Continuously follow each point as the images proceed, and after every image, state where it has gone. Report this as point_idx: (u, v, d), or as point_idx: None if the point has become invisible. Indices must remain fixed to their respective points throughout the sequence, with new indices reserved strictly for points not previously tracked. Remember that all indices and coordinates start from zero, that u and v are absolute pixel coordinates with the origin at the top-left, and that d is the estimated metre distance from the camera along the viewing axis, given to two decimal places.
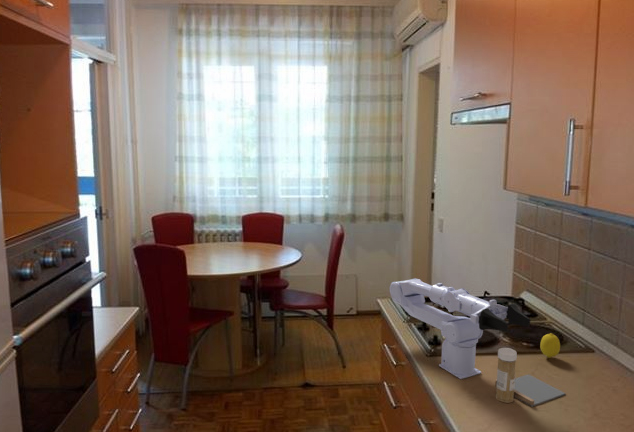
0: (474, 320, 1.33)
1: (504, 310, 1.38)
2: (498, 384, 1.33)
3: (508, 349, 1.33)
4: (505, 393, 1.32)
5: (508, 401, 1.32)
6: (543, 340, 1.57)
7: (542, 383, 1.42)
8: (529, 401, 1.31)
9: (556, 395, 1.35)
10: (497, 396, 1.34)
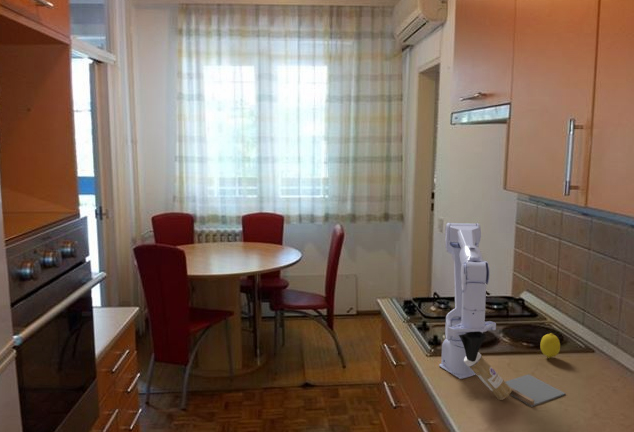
0: (450, 333, 1.29)
1: None
2: None
3: None
4: (494, 392, 1.33)
5: (503, 397, 1.32)
6: (543, 340, 1.57)
7: (542, 383, 1.42)
8: (529, 401, 1.31)
9: (556, 395, 1.35)
10: None
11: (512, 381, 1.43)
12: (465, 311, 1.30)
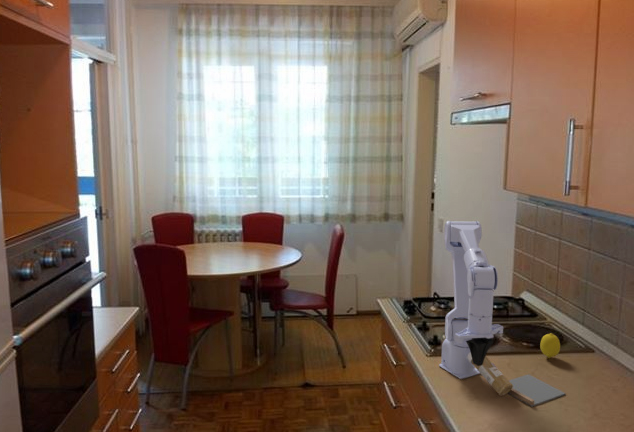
0: (456, 340, 1.27)
1: None
2: (488, 381, 1.37)
3: None
4: (496, 381, 1.35)
5: (504, 386, 1.33)
6: (543, 340, 1.57)
7: (542, 383, 1.42)
8: (529, 401, 1.31)
9: (556, 395, 1.35)
10: None
11: (512, 381, 1.43)
12: (472, 317, 1.28)
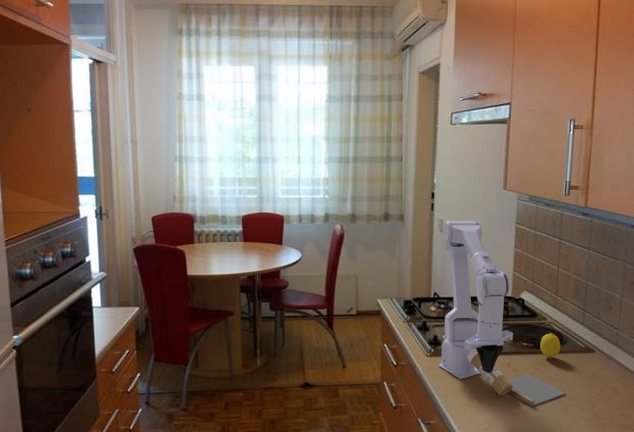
0: (465, 347, 1.26)
1: None
2: (488, 381, 1.37)
3: None
4: (496, 381, 1.35)
5: (504, 386, 1.33)
6: (543, 340, 1.57)
7: (542, 383, 1.42)
8: (529, 401, 1.31)
9: (556, 395, 1.35)
10: None
11: (512, 381, 1.43)
12: (482, 324, 1.26)
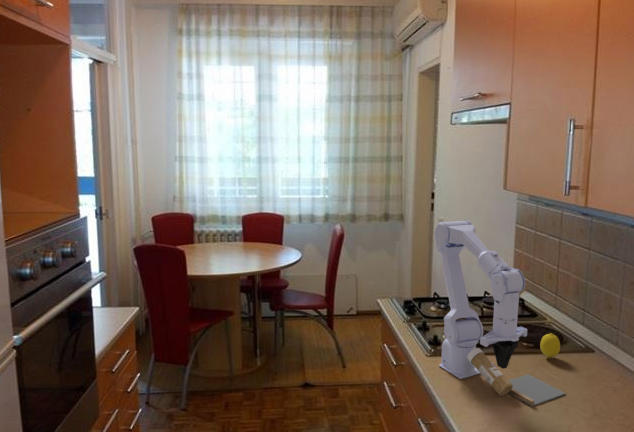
0: (481, 343, 1.28)
1: None
2: (488, 381, 1.37)
3: None
4: (496, 381, 1.35)
5: (504, 386, 1.33)
6: (543, 340, 1.57)
7: (542, 383, 1.42)
8: (529, 401, 1.31)
9: (556, 395, 1.35)
10: None
11: (512, 381, 1.43)
12: (497, 320, 1.28)
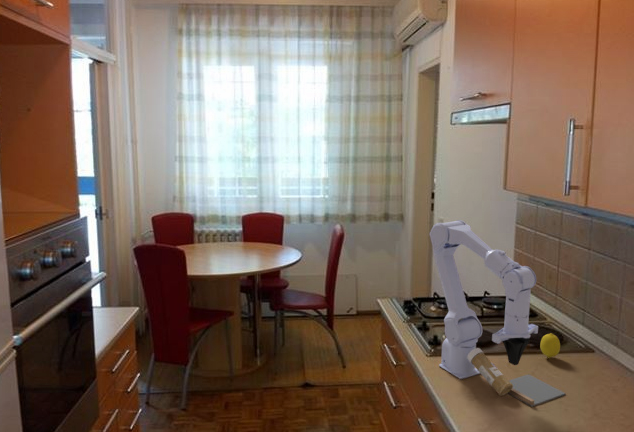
0: (493, 340, 1.30)
1: None
2: (488, 381, 1.37)
3: None
4: (496, 381, 1.35)
5: (504, 386, 1.33)
6: (543, 340, 1.57)
7: (542, 383, 1.42)
8: (529, 401, 1.31)
9: (556, 395, 1.35)
10: None
11: (512, 381, 1.43)
12: (509, 317, 1.30)
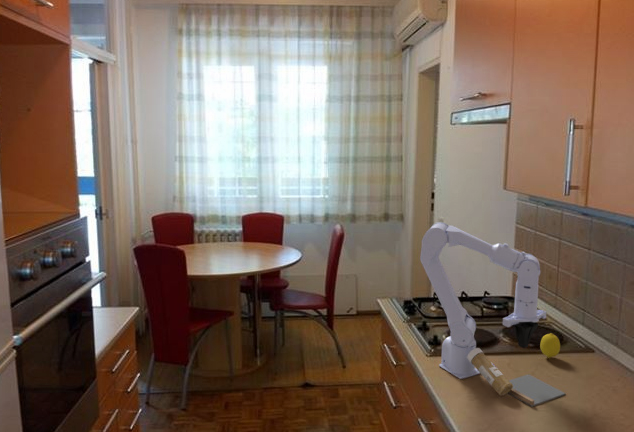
0: (504, 323, 1.38)
1: None
2: (488, 381, 1.37)
3: None
4: (496, 381, 1.35)
5: (504, 386, 1.33)
6: (543, 340, 1.57)
7: (542, 383, 1.42)
8: (529, 401, 1.31)
9: (556, 395, 1.35)
10: None
11: (512, 381, 1.43)
12: (518, 303, 1.39)
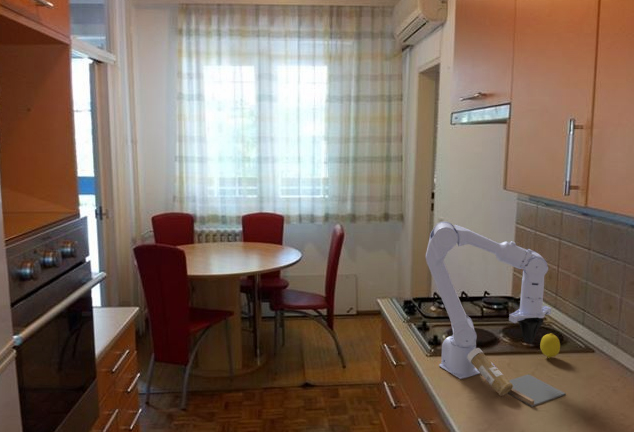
0: (510, 319, 1.40)
1: None
2: (488, 381, 1.37)
3: None
4: (496, 381, 1.35)
5: (504, 386, 1.33)
6: (543, 340, 1.57)
7: (542, 383, 1.42)
8: (529, 401, 1.31)
9: (556, 395, 1.35)
10: None
11: (512, 381, 1.43)
12: (525, 299, 1.41)
